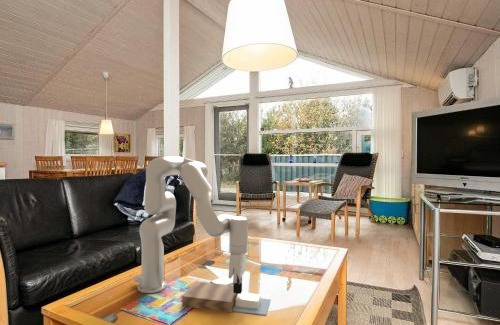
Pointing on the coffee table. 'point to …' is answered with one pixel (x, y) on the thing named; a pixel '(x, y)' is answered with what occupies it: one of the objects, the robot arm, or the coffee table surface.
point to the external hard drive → (223, 280)
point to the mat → (260, 311)
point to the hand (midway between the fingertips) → (237, 292)
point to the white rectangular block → (248, 300)
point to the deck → (210, 296)
